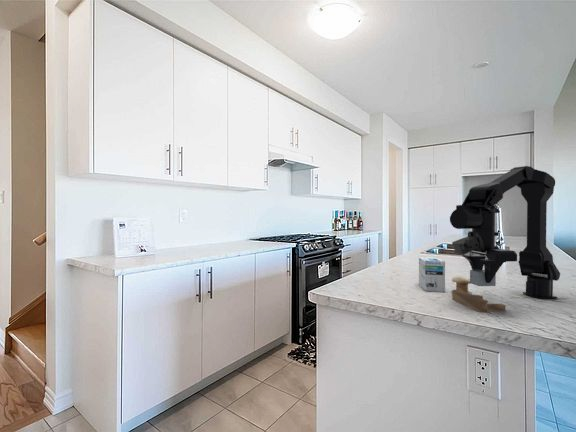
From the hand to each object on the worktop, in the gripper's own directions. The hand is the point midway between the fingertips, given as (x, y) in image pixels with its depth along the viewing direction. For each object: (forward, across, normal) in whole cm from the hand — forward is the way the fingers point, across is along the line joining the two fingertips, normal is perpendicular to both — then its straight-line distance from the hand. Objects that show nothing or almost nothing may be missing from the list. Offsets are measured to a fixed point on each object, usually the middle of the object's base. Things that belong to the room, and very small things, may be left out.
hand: (482, 281), depth 90 cm
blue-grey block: (+1, 0, 0) cm, 1 cm away
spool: (+7, -12, +2) cm, 14 cm away
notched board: (+7, 0, -1) cm, 7 cm away
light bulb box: (+7, -20, -4) cm, 22 cm away
